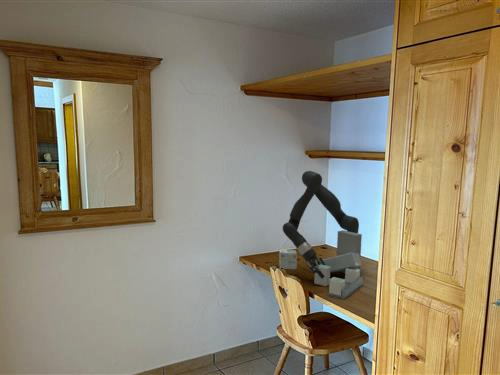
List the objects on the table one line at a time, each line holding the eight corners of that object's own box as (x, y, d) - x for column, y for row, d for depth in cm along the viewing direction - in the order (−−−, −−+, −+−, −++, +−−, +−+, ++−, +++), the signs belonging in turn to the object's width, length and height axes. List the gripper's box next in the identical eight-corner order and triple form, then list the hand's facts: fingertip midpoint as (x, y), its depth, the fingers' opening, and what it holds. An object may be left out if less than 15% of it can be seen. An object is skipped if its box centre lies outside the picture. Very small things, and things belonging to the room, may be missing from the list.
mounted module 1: (333, 289, 208) (333, 276, 207) (344, 292, 204) (345, 279, 203) (329, 292, 204) (329, 279, 203) (340, 295, 200) (341, 281, 199)
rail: (347, 281, 225) (347, 273, 225) (362, 284, 220) (362, 277, 219) (327, 295, 204) (328, 286, 204) (344, 299, 199) (344, 290, 198)
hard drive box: (322, 273, 227) (354, 265, 218) (318, 260, 229) (351, 252, 220) (331, 273, 240) (362, 265, 231) (327, 260, 242) (358, 252, 233)
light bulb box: (295, 266, 252) (295, 249, 250) (296, 269, 245) (297, 252, 244) (278, 266, 251) (279, 249, 250) (279, 269, 245) (280, 252, 243)
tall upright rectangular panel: (360, 274, 237) (362, 234, 234) (354, 276, 233) (356, 235, 230) (341, 268, 248) (343, 230, 245) (335, 270, 244) (337, 231, 241)
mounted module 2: (348, 279, 225) (348, 266, 224) (359, 281, 221) (359, 269, 220) (344, 281, 221) (345, 269, 220) (355, 284, 217) (356, 271, 216)
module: (318, 281, 224) (318, 263, 223) (329, 283, 220) (330, 266, 219) (314, 283, 220) (314, 265, 219) (325, 286, 216) (326, 268, 215)
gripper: (305, 250, 217) (324, 276, 211) (316, 245, 228) (335, 269, 223) (296, 258, 220) (315, 283, 215) (308, 252, 232) (326, 276, 226)
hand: (325, 276), depth 219 cm, fingers closed on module, 5 cm apart
